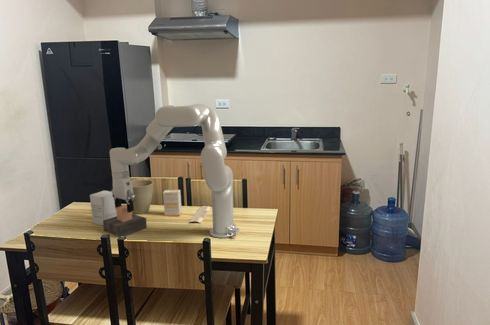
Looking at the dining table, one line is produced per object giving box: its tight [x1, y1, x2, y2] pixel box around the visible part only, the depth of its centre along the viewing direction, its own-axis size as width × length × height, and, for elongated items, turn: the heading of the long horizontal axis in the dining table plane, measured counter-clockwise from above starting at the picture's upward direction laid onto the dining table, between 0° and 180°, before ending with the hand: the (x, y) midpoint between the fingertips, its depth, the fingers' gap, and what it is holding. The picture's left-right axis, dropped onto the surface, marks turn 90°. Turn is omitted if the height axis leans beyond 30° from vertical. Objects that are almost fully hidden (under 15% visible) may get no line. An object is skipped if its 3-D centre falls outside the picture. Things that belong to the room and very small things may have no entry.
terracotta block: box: [116, 204, 133, 222], centre depth 176 cm, size 5×5×6 cm
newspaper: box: [188, 205, 212, 224], centre depth 195 cm, size 24×7×2 cm, turn 173°
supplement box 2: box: [162, 189, 183, 217], centre depth 195 cm, size 8×5×13 cm, turn 84°
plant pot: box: [128, 179, 154, 215], centre depth 200 cm, size 15×15×16 cm
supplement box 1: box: [89, 190, 117, 227], centre depth 187 cm, size 9×9×15 cm
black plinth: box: [102, 213, 147, 237], centre depth 177 cm, size 14×14×5 cm
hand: (124, 209), depth 176 cm, fingers open, 9 cm apart
